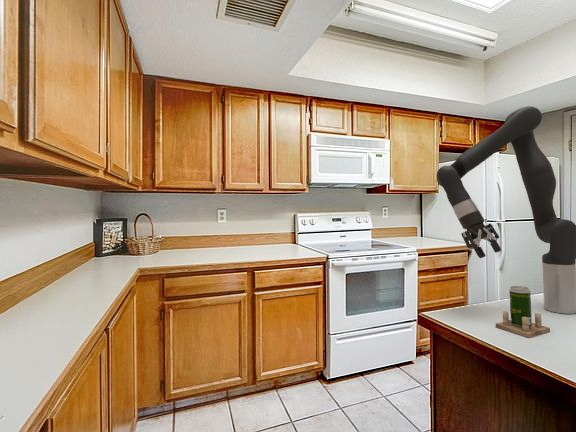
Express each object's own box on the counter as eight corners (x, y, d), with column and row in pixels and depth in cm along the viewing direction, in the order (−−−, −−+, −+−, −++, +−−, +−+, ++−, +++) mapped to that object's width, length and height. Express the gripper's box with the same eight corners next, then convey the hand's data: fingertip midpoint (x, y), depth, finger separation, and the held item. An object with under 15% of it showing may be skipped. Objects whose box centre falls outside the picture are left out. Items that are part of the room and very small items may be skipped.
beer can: (532, 324, 100) (531, 287, 100) (530, 329, 96) (529, 290, 96) (512, 321, 104) (510, 285, 103) (509, 326, 100) (507, 288, 100)
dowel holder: (516, 321, 106) (515, 306, 106) (550, 331, 97) (549, 315, 97) (495, 327, 103) (495, 311, 102) (528, 338, 93) (528, 320, 93)
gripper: (462, 213, 111) (486, 256, 106) (488, 206, 117) (512, 246, 112) (447, 221, 118) (469, 262, 113) (472, 214, 123) (494, 253, 118)
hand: (490, 254), depth 112 cm, fingers open, 8 cm apart
